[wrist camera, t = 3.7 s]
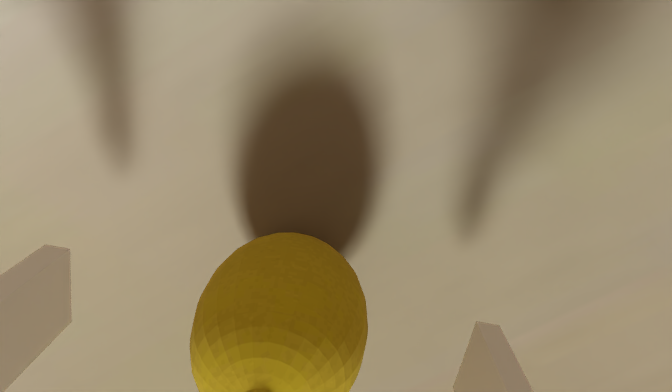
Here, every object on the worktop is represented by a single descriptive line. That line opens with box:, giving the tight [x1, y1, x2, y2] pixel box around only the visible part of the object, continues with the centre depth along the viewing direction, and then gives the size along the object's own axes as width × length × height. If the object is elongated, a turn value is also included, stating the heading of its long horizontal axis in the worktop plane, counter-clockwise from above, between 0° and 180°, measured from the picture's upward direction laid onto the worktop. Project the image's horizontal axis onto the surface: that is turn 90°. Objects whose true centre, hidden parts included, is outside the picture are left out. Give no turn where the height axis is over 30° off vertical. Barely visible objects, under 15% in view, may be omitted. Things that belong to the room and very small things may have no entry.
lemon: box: [190, 232, 368, 392], centre depth 15 cm, size 6×6×8 cm
